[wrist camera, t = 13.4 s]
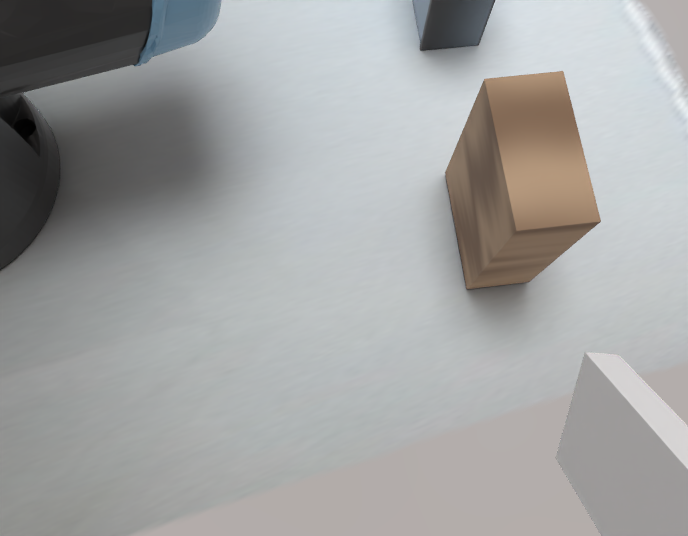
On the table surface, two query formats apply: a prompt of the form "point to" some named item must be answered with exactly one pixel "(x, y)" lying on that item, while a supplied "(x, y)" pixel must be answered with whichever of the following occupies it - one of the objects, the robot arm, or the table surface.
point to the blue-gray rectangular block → (451, 22)
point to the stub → (519, 180)
